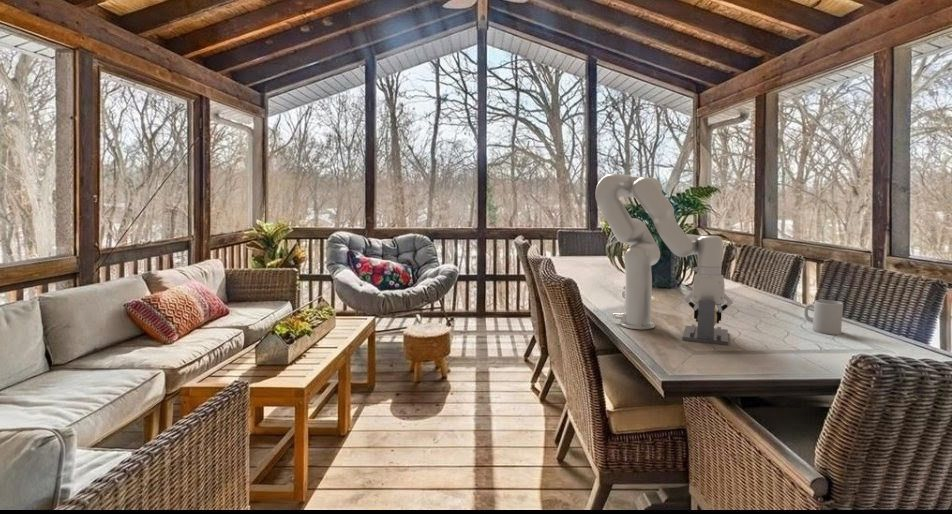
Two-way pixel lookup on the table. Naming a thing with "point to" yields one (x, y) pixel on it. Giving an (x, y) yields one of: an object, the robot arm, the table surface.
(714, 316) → the paper roll
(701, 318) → the roll holder
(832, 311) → the mug
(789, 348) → the table surface
